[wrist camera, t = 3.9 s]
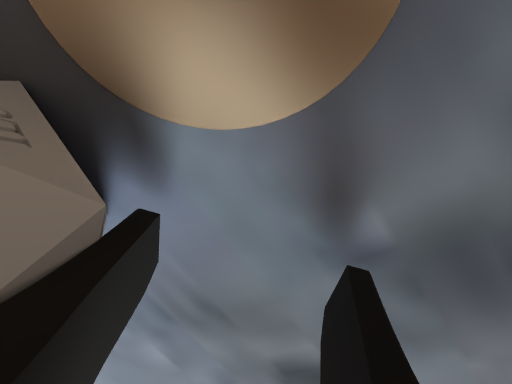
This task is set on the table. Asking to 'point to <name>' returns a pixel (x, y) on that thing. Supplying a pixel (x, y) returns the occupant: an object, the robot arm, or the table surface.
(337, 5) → the coaster
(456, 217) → the table surface
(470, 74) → the table surface
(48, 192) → the die
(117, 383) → the table surface
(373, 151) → the table surface
